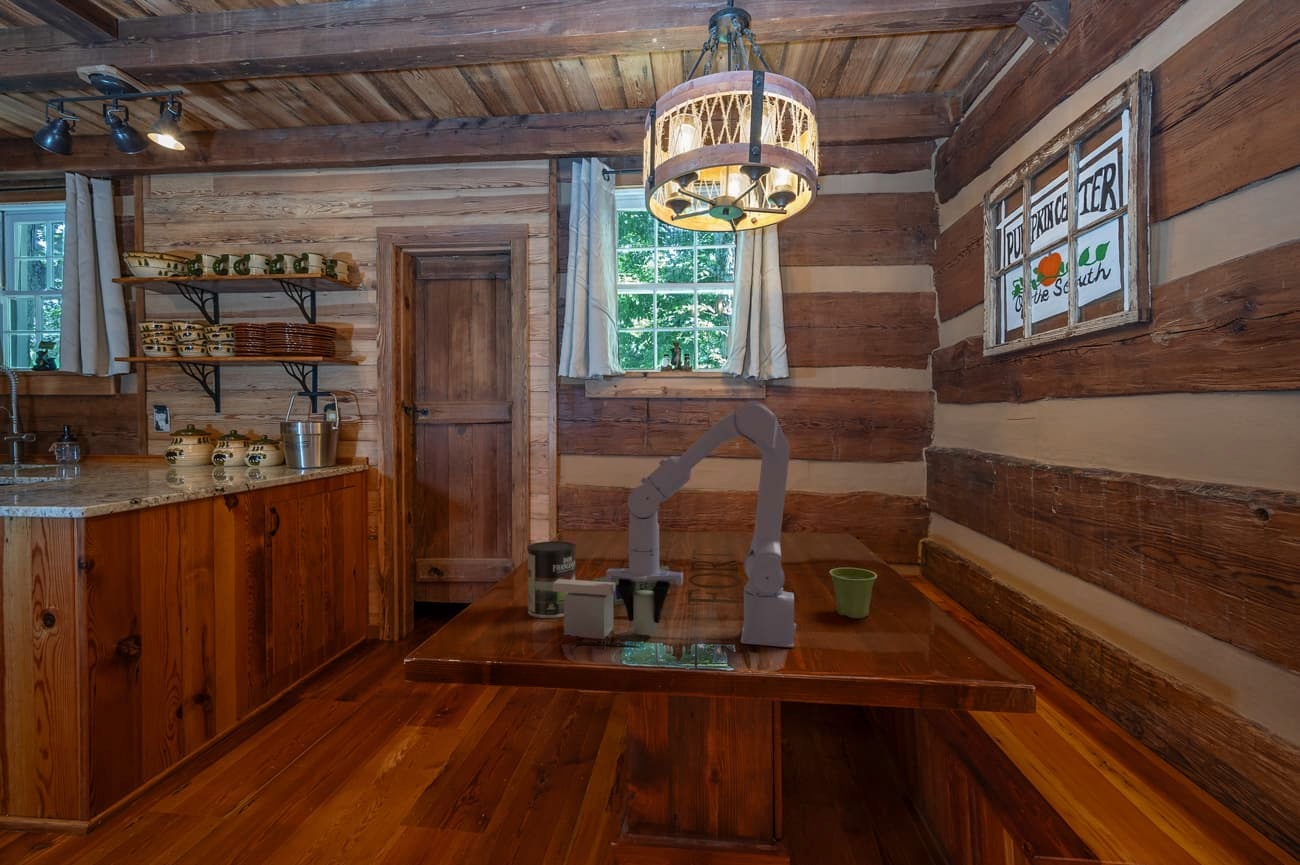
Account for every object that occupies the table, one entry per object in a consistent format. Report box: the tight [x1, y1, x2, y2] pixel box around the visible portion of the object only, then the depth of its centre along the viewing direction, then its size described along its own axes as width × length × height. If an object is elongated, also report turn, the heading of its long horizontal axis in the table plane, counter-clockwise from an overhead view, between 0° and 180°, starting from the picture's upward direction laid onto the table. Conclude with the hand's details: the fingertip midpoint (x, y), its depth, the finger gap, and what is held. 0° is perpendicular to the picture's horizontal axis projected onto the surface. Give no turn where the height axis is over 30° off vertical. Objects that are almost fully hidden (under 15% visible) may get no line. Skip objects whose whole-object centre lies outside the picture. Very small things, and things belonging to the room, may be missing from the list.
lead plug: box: [632, 590, 657, 636], centre depth 106 cm, size 4×4×7 cm
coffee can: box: [527, 540, 577, 619], centre depth 121 cm, size 10×10×14 cm
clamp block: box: [563, 593, 615, 640], centre depth 109 cm, size 8×6×8 cm
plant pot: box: [829, 567, 878, 619], centre depth 119 cm, size 9×9×9 cm
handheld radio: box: [592, 565, 671, 608], centre depth 127 cm, size 7×3×25 cm
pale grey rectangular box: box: [553, 579, 615, 595], centre depth 109 cm, size 12×3×2 cm, turn 77°
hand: (644, 620), depth 106 cm, fingers closed on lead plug, 4 cm apart
